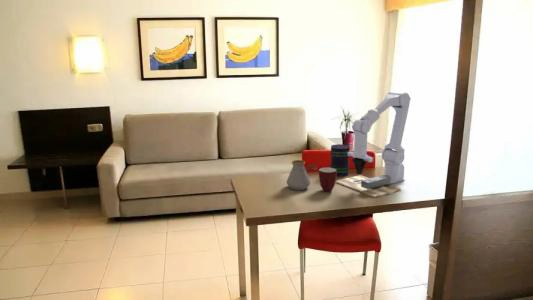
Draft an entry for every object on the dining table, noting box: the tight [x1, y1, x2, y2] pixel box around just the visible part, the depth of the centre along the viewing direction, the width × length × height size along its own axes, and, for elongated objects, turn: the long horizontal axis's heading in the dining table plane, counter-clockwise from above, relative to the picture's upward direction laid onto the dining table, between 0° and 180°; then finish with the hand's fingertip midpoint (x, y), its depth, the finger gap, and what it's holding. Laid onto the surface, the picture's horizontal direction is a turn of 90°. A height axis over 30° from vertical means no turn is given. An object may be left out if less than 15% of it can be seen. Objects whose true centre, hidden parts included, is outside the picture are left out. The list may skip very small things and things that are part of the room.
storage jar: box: [329, 143, 351, 177], centre depth 207 cm, size 10×10×15 cm
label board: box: [335, 174, 402, 199], centre depth 188 cm, size 17×26×1 cm, turn 31°
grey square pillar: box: [361, 174, 392, 189], centre depth 183 cm, size 17×4×4 cm, turn 121°
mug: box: [318, 167, 337, 193], centre depth 181 cm, size 11×8×10 cm
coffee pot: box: [286, 159, 319, 191], centre depth 182 cm, size 21×12×15 cm, turn 24°
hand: (359, 173), depth 184 cm, fingers closed
